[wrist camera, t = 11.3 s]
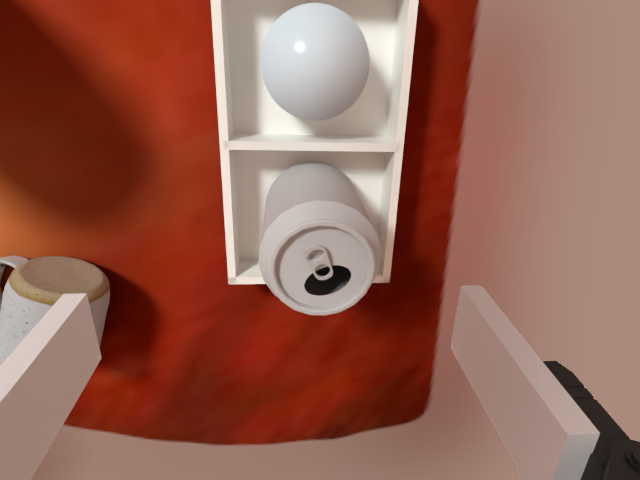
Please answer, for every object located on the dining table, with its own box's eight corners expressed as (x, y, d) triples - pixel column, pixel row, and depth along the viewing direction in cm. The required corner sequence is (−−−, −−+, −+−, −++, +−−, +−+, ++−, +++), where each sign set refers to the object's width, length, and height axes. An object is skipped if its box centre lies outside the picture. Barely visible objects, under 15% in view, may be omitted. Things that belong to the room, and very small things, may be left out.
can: (287, 257, 38) (287, 343, 27) (250, 180, 35) (233, 240, 24) (369, 226, 37) (403, 301, 26) (338, 144, 34) (362, 189, 23)
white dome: (262, 7, 30) (258, 0, 26) (363, 10, 31) (373, 5, 27) (264, 112, 33) (261, 119, 29) (357, 113, 33) (365, 121, 30)
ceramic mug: (127, 265, 38) (88, 313, 31) (111, 340, 41) (72, 400, 34) (-4, 229, 36) (-77, 271, 29) (-11, 310, 39) (-79, 367, 32)
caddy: (217, -29, 30) (208, -40, 26) (405, -21, 31) (421, -31, 27) (234, 261, 38) (228, 284, 35) (380, 261, 39) (389, 282, 36)
